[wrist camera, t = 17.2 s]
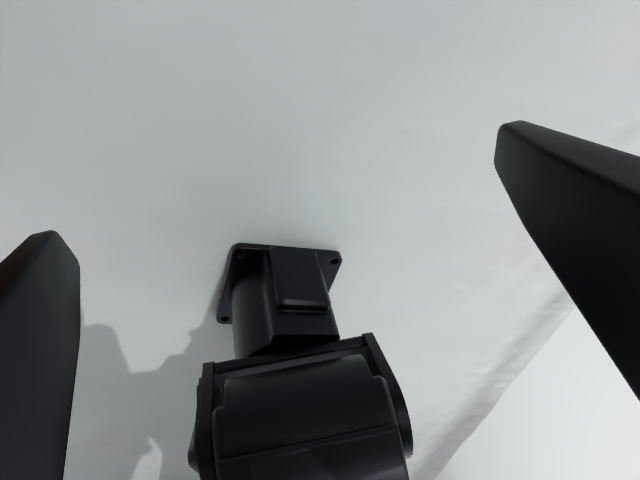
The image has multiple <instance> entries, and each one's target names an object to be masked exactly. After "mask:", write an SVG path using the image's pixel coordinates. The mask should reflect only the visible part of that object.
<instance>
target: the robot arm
mask: <svg viewBox="0 0 640 480" xmlns="http://www.w3.org/2000/svg"><path fill="white" fill-rule="evenodd" d="M494 165H495V169H496V171H497V173H498V175H499V177H500V179H501V181H502V183H503V185H504V187H505V189H506V191H507V193H508V195H509V197H510V199H511V201H512V204H513V206H514V208H515V210H516V212H517V214H518V216H519V218H520V219H521V221H522V223H523V225H524V227H525V228H526V230H527V232H528V233H529V235H530V236H531V238H532V239H533V241H534V242H535V244H536V245H537V247H538V248H539V250H540V251H541V253H542V254H543V256H544V257H545V259H546V261H547V262H548V264H549V265H550V267H551V268H552V270H553V271H554V273H555V274H556V276H557V277H558V279H559V280H560V282H561V283H562V285H563V286H564V288H565V289H566V291H567V292H568V294H569V295H570V297H571V298H572V300H573V301H574V303H575V304H576V306H577V307H578V309H579V310H580V312H581V313H582V315H583V316H584V318H585V319H586V321H587V323H588V324H589V326H590V327H591V329H592V330H593V332H594V333H595V335H596V336H597V337H598V339H599V341H600V342H601V344H602V345H603V347H604V348H605V350H606V351H607V352H608V354H609V356H610V357H611V359H612V360H613V362H614V363H615V365H616V366H617V368H618V369H619V371H620V372H621V374H622V375H623V377H624V378H625V380H626V381H627V383H628V384H629V386H630V388H631V389H632V391H633V392H634V394H635V395H636V397H637V398H638V400H639V401H640V157H639V156H636V155H633V154H629V153H626V152H623V151H620V150H616V149H613V148H610V147H607V146H603V145H600V144H597V143H594V142H591V141H587V140H584V139H581V138H578V137H574V136H571V135H568V134H565V133H561V132H558V131H555V130H552V129H548V128H545V127H542V126H539V125H535V124H532V123H529V122H526V121H522V120H518V121H514V122H510V123H506V124H503V125H501V126H500V128H499V130H498V134H497V141H496V148H495V155H494ZM239 251H243V252H242V253H238V252H239ZM334 258H335V259H334ZM331 259H334V260H331ZM341 263H342V258H341V255H340V253H339V252H338V251H332V250H320V249H308V248H296V247H284V246H272V245H261V244H249V243H238V244H235V245H234V246H233V247H232V249H231V253H230V257H229V262H228V266H227V270H226V274H225V279H224V283H223V287H222V291H221V296H220V300H219V304H218V309H217V313H216V317H217V321H218V322H219V323H221V324H232V325H233V338H234V350H235V359H234V360H229V361H223V362H218V363H215V362H214V361H213V362H208V363H203V372H202V377H201V378H199V385H198V386H197V411H196V422H195V426H194V430H193V434H192V438H191V442H190V446H189V450H188V463H189V466H190V467H191V468H192V469H194V470H195V471H196V472H197V473H199V475H200V479H201V480H409V476H408V471H407V466H406V461H405V459H407V458H411V456H412V454H413V437H412V430H411V424H410V419H409V415H408V410H407V407H406V403H405V400H404V397H403V394H402V391H401V389H400V387H399V384H398V382H397V380H396V378H395V376H394V374H393V372H392V370H391V368H390V366H389V364H388V362H387V361H386V359H385V357H384V355H383V353H382V351H381V349H380V347H379V345H378V343H377V341H376V339H375V337H374V335H373V333H372V332H371V333H365V334H362V336H358V337H353V338H347V339H342V340H340V336H339V332H338V328H337V325H336V321H335V318H334V314H333V311H332V307H331V302H330V298H329V294H328V292H329V290H330V288H331V285H332V283H333V281H334V279H335V276H336V274H337V272H338V270H339V267H340V265H341ZM79 342H80V266H79V263H78V260H77V258H76V257H75V255H74V254H73V253H72V251H71V250H70V248H69V247H68V246H67V244H66V243H65V242H64V240H63V239H62V237H61V236H60V235H59V234H58V233H57V232H56V231H53V230H49V231H44V232H40V233H36V234H32V235H30V236H29V237H28V238H27V239H26V240H25V241H24V242H23V243H22V244H20V245H19V246H18V247H17V248H16V249H15V250H14V251H13V252H12V253H11V254H10V255H8V256H7V257H6V258H5V259H4V260H3V261H2V262H1V263H0V480H63V474H64V466H65V458H66V450H67V442H68V433H69V425H70V417H71V409H72V401H73V393H74V384H75V376H76V368H77V360H78V352H79Z"/></svg>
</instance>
